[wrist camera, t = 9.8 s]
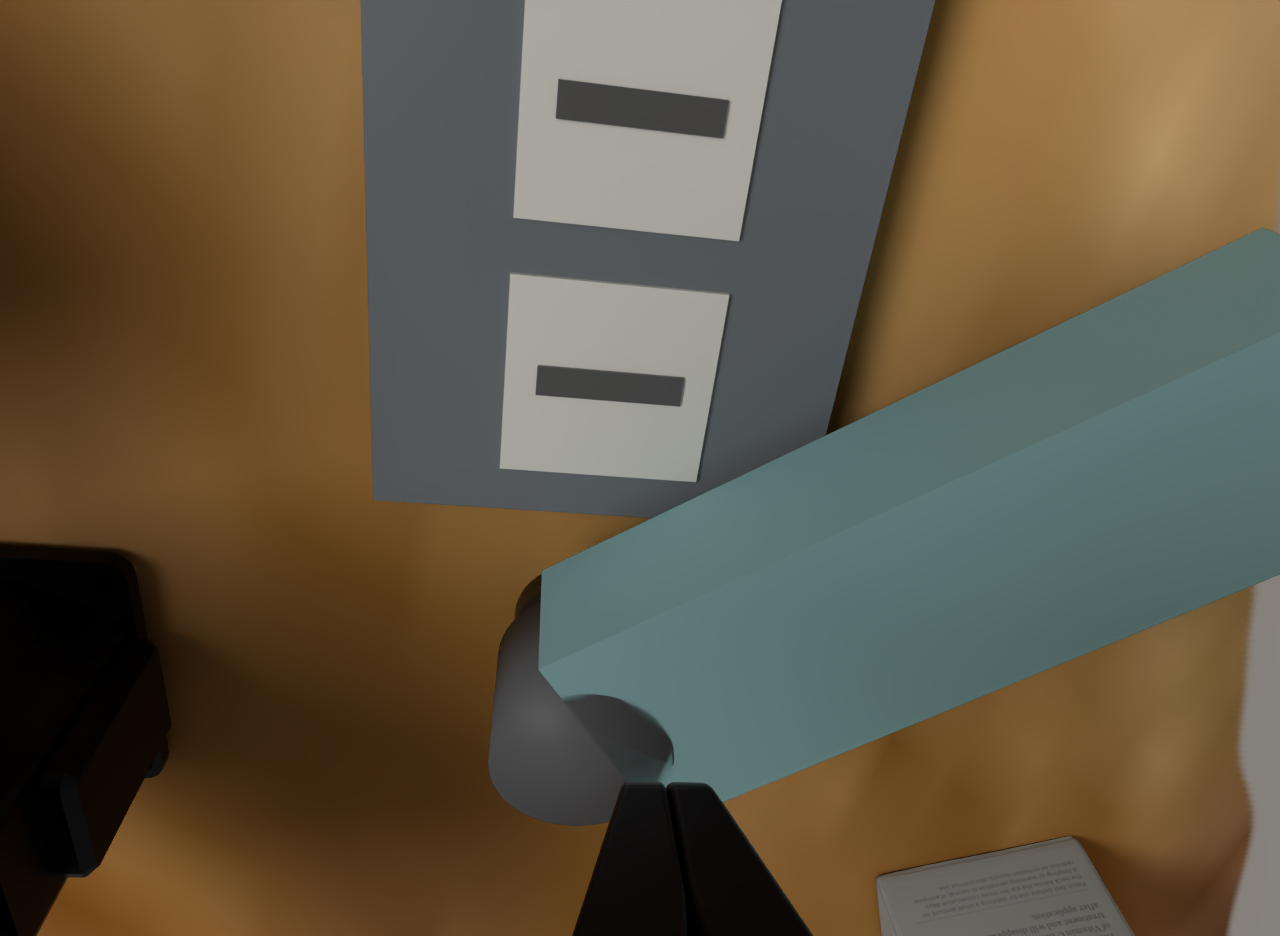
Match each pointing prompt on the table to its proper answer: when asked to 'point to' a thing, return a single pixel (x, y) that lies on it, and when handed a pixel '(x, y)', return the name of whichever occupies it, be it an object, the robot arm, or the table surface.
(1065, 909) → the small box
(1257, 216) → the table surface
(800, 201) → the label panel
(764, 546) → the swing arm
